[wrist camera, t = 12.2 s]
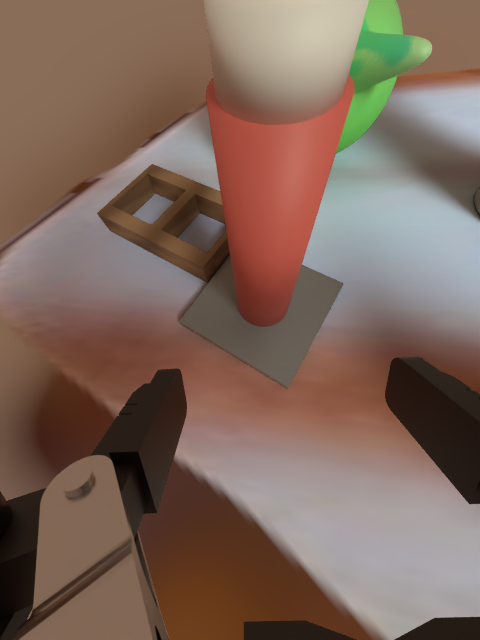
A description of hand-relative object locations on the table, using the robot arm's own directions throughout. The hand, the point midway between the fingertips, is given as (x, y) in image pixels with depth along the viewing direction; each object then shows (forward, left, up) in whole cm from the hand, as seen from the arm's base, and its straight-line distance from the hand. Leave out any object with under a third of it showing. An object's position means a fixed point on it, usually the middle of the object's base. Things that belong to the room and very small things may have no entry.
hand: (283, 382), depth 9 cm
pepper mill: (-7, -5, -10) cm, 13 cm away
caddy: (-11, -18, -10) cm, 23 cm away
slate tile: (-7, -5, -10) cm, 13 cm away
